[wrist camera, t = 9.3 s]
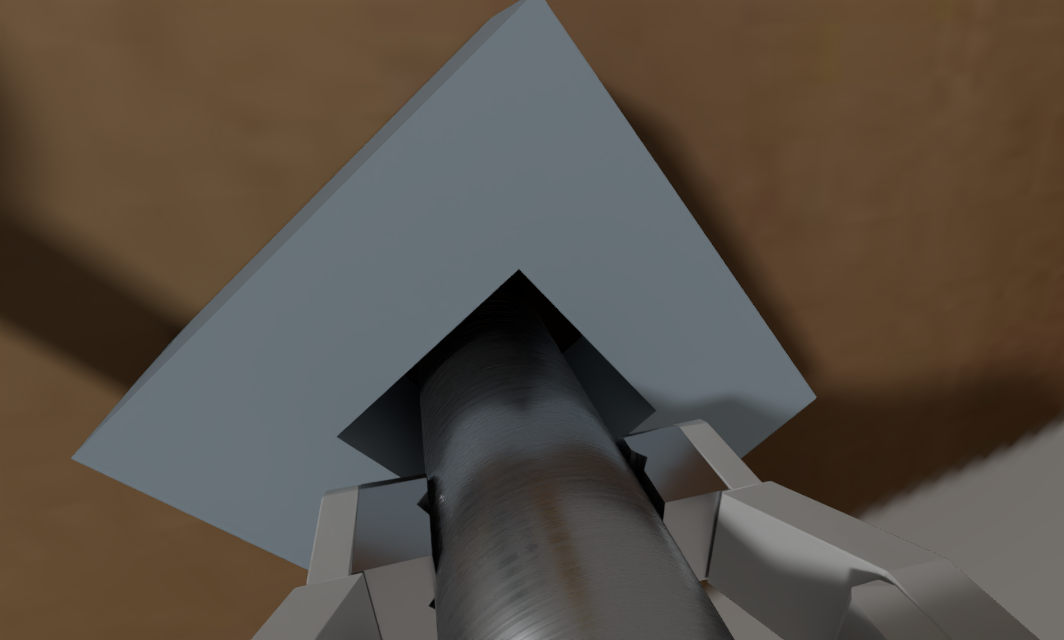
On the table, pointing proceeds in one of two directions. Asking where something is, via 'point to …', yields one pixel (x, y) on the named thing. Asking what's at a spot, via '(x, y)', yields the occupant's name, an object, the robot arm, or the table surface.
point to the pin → (540, 499)
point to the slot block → (447, 299)
